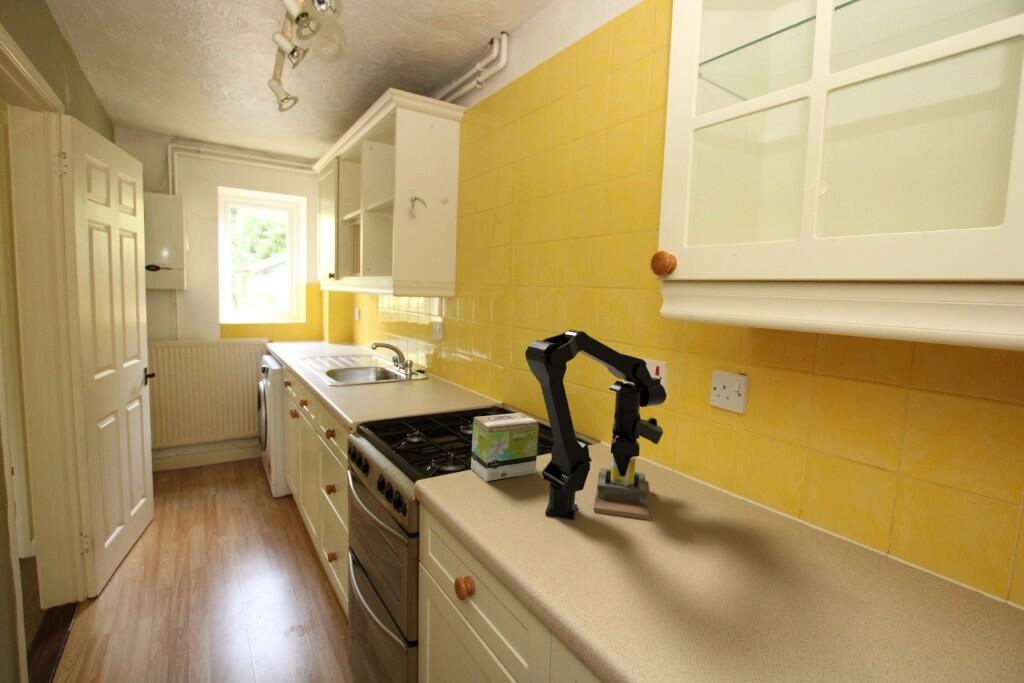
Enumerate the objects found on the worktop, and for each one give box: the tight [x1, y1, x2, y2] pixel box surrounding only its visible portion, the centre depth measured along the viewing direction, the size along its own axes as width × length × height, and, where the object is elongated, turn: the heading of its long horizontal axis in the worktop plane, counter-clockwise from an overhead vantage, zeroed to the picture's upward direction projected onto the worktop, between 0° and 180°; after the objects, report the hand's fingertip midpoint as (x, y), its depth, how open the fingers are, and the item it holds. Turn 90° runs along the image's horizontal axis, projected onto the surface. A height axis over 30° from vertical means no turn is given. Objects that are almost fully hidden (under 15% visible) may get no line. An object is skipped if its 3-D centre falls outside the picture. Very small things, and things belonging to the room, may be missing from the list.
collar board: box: [593, 467, 650, 521], centre depth 114 cm, size 22×12×4 cm, turn 167°
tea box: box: [470, 412, 540, 483], centre depth 125 cm, size 15×10×15 cm
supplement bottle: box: [611, 453, 636, 487], centre depth 114 cm, size 6×6×10 cm
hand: (622, 471), depth 114 cm, fingers closed on supplement bottle, 5 cm apart
